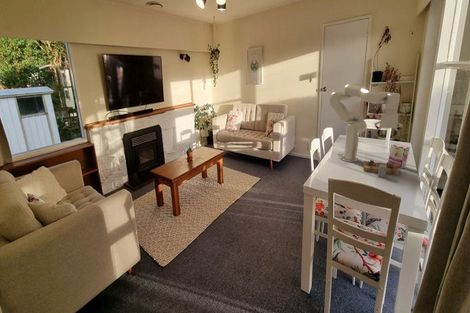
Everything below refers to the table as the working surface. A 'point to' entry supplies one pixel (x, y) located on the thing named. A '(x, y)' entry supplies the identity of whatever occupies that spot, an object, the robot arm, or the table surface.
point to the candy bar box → (398, 155)
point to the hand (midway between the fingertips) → (386, 135)
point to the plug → (382, 171)
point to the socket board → (374, 167)
